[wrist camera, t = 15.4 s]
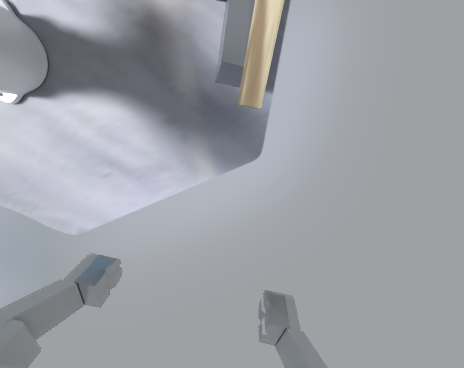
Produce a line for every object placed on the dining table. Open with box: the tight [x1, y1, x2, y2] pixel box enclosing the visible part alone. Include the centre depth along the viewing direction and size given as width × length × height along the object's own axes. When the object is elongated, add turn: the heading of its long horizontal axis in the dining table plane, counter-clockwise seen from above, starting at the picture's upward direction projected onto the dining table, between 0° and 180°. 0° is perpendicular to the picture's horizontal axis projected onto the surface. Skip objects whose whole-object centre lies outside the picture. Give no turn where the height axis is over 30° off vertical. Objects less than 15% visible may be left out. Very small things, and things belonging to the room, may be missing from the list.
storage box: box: [215, 0, 255, 87], centre depth 37 cm, size 8×18×14 cm, turn 170°
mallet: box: [237, 0, 285, 109], centre depth 28 cm, size 7×28×7 cm
